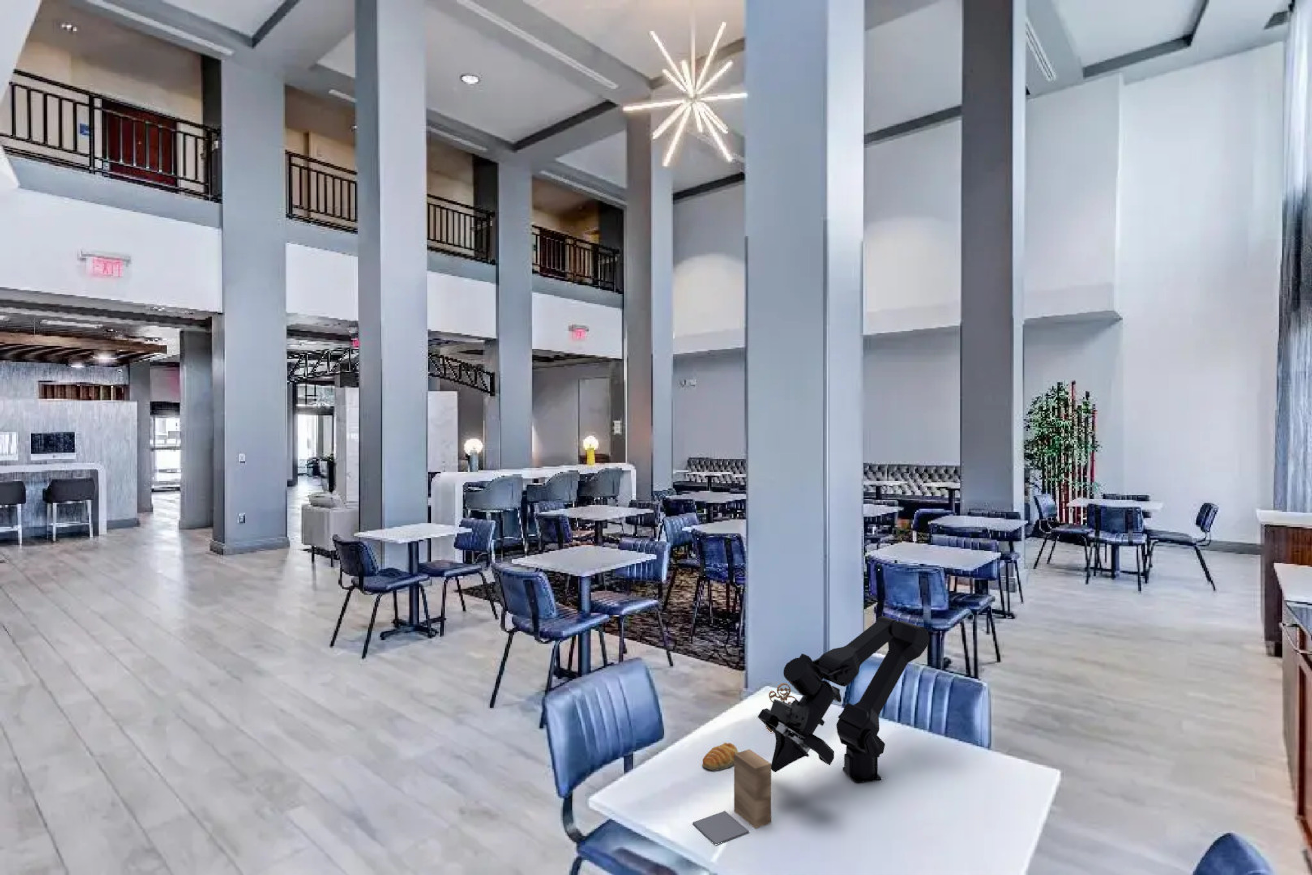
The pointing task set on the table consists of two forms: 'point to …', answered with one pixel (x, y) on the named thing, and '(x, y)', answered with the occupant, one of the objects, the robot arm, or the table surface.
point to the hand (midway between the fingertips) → (772, 770)
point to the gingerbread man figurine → (781, 696)
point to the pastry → (720, 757)
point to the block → (752, 788)
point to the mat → (720, 827)
